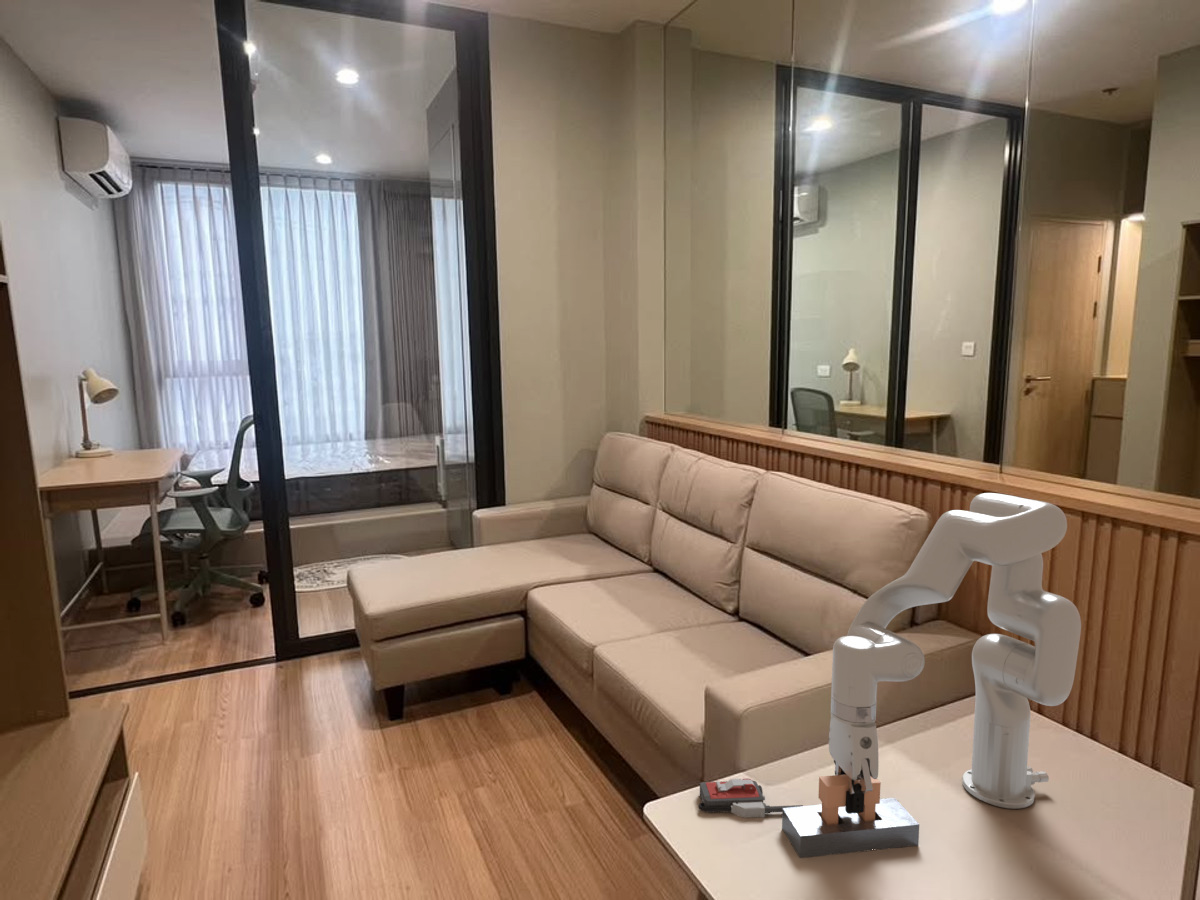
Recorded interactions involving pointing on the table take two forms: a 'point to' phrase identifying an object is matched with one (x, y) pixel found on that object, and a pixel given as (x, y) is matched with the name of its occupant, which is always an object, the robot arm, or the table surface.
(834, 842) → the metal socket block
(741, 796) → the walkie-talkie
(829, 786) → the tan forked block
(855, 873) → the table surface
